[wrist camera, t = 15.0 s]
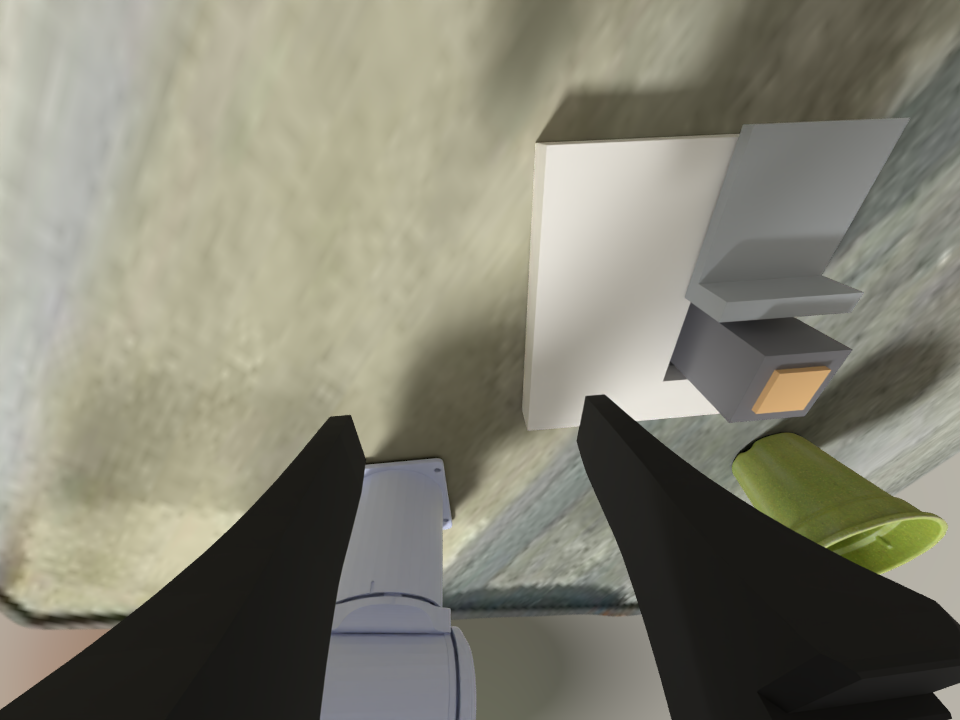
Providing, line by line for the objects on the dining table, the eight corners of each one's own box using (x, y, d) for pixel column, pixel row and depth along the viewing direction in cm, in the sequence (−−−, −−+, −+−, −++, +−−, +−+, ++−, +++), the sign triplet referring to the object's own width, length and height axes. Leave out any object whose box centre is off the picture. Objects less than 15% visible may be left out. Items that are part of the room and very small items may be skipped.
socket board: (724, 392, 25) (744, 411, 23) (522, 410, 24) (527, 430, 23) (854, 128, 16) (902, 128, 14) (535, 142, 15) (546, 145, 13)
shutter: (801, 289, 18) (850, 312, 16) (684, 297, 18) (719, 322, 15) (894, 117, 14) (979, 116, 12) (742, 124, 13) (801, 124, 11)
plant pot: (715, 436, 28) (808, 543, 21) (837, 402, 27) (979, 503, 20) (707, 497, 33) (779, 599, 26) (809, 471, 32) (913, 570, 25)
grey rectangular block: (724, 350, 22) (810, 420, 17) (664, 355, 22) (733, 427, 17) (750, 293, 20) (859, 353, 15) (684, 297, 20) (771, 360, 14)
